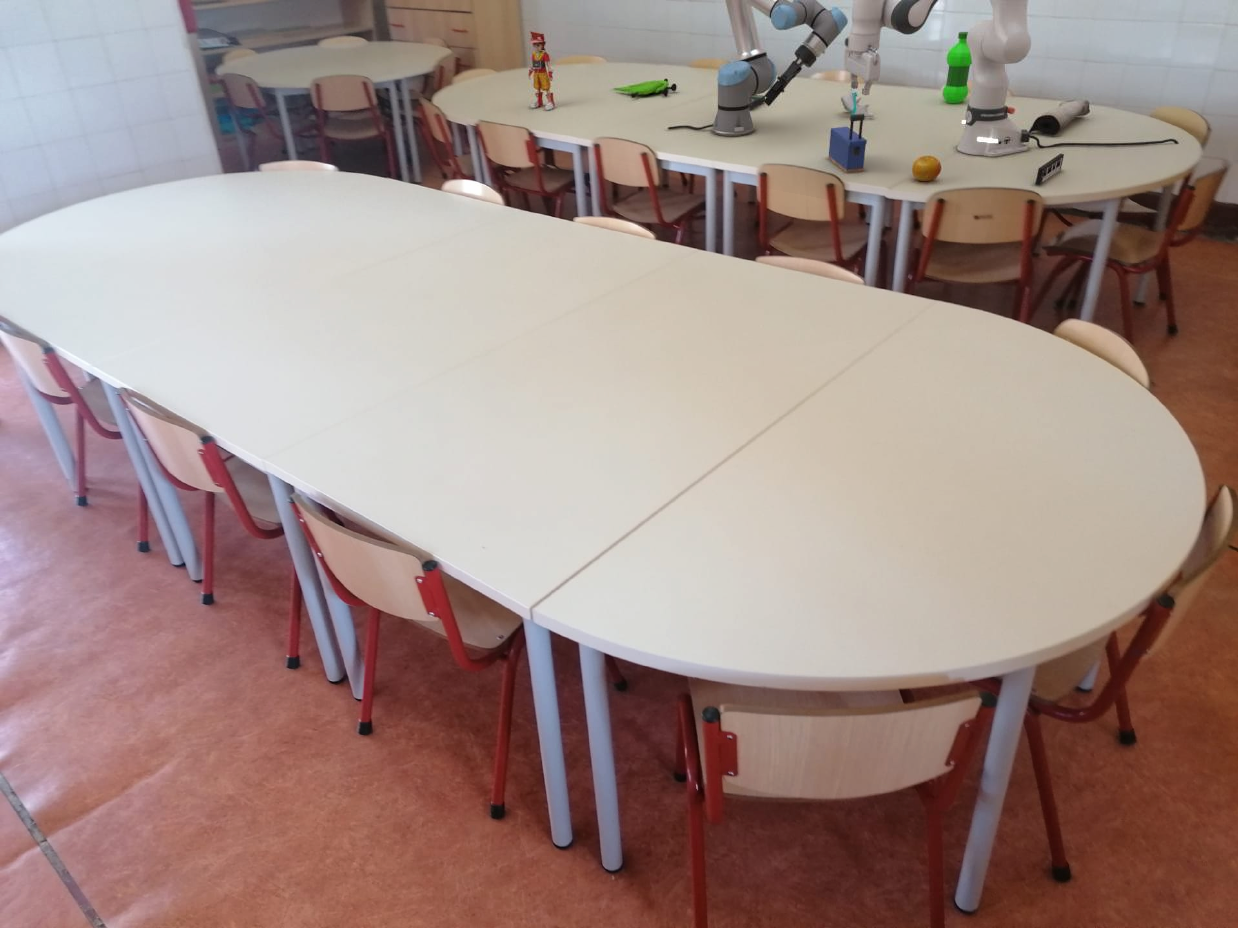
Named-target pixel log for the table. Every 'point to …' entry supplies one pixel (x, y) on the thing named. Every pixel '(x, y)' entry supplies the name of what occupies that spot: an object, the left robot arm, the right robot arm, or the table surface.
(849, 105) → the anatomical model
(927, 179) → the fruit
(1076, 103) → the rolled mat
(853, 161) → the chest
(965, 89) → the plastic bottle
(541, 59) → the toy
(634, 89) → the toy
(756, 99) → the disk drive
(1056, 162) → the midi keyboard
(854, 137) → the lid
